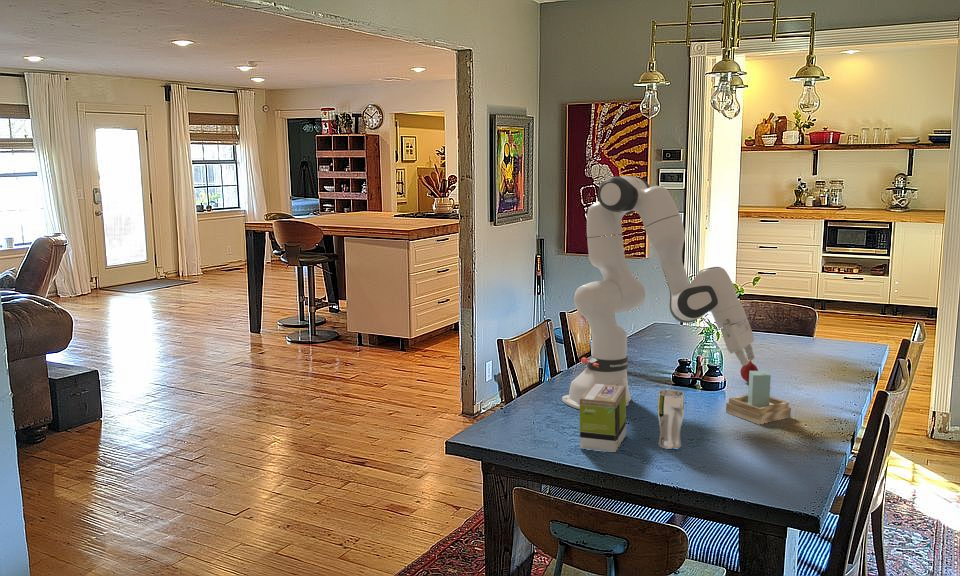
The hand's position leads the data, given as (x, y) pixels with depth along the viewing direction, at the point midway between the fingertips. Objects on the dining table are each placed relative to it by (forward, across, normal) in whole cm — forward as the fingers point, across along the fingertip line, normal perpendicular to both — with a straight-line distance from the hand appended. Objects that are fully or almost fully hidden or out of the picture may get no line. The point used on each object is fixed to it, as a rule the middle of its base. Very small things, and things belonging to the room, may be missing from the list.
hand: (748, 362), depth 231 cm
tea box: (+6, -36, +36) cm, 52 cm away
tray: (+16, +7, +5) cm, 18 cm away
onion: (+10, +40, +13) cm, 43 cm away
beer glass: (+12, -30, +21) cm, 39 cm away
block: (+14, +7, +4) cm, 16 cm away
